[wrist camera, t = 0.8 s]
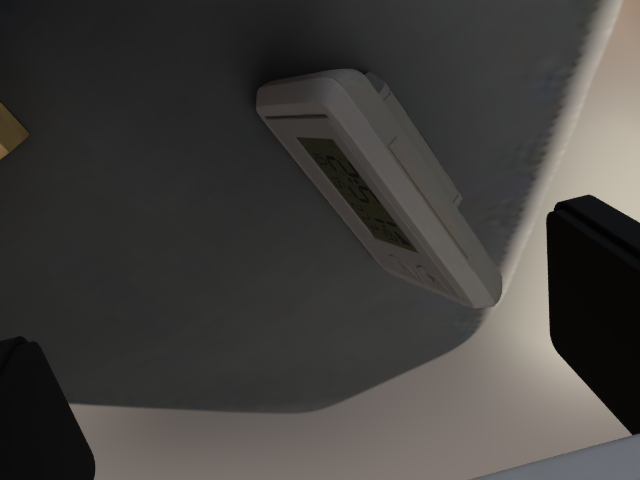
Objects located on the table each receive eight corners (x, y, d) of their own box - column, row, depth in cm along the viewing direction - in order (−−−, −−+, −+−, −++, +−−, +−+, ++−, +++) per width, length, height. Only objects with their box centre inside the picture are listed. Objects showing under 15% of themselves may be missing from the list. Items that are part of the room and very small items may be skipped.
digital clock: (241, 80, 35) (250, 119, 26) (376, 11, 35) (436, 25, 25) (348, 286, 42) (386, 377, 33) (461, 230, 42) (533, 306, 32)
